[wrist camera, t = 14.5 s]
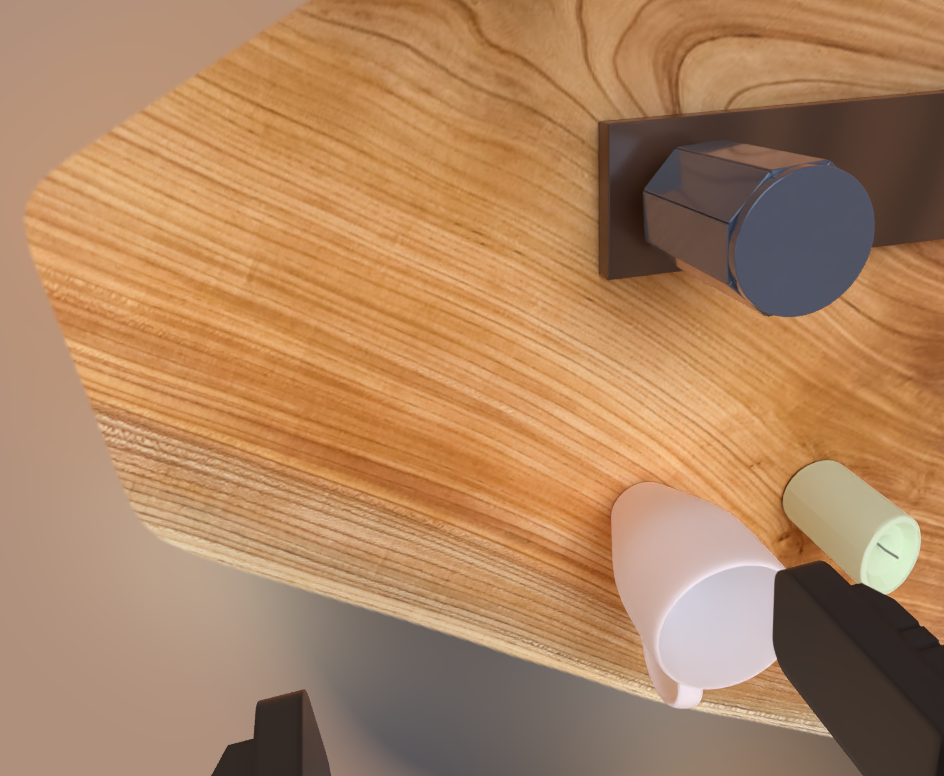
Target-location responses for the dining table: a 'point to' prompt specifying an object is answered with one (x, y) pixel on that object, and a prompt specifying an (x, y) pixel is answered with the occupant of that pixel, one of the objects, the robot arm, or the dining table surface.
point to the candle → (853, 524)
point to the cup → (760, 224)
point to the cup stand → (791, 130)
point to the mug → (693, 590)
